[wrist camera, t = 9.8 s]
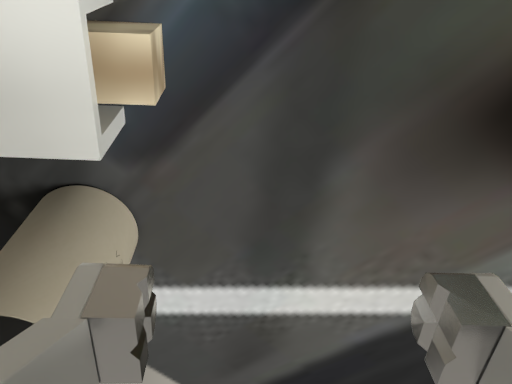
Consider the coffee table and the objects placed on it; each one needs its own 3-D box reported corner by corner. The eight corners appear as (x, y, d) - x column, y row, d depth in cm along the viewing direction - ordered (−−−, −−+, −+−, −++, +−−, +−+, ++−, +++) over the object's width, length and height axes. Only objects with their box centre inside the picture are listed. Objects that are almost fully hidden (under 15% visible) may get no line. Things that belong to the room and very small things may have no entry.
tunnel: (-30, -29, 25) (-101, -22, 20) (110, -20, 25) (76, -11, 20) (6, 117, 29) (-45, 154, 24) (125, 122, 30) (100, 160, 25)
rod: (-137, 10, 26) (-195, 20, 23) (162, 22, 27) (150, 34, 23) (-112, 76, 28) (-161, 94, 25) (166, 86, 29) (155, 105, 25)
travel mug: (28, 249, 35) (-145, 496, 19) (44, 168, 31) (-153, 389, 16) (125, 277, 37) (38, 523, 21) (150, 202, 33) (68, 433, 17)
